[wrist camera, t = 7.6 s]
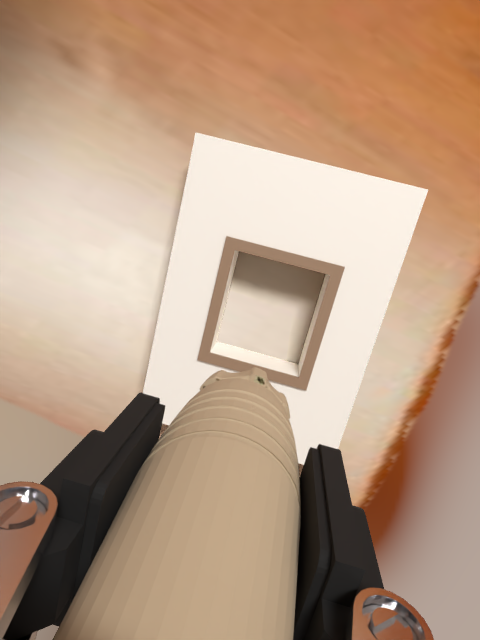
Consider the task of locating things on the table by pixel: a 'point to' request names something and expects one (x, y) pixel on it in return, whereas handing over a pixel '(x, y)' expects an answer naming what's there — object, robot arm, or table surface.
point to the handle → (203, 527)
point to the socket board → (291, 248)
